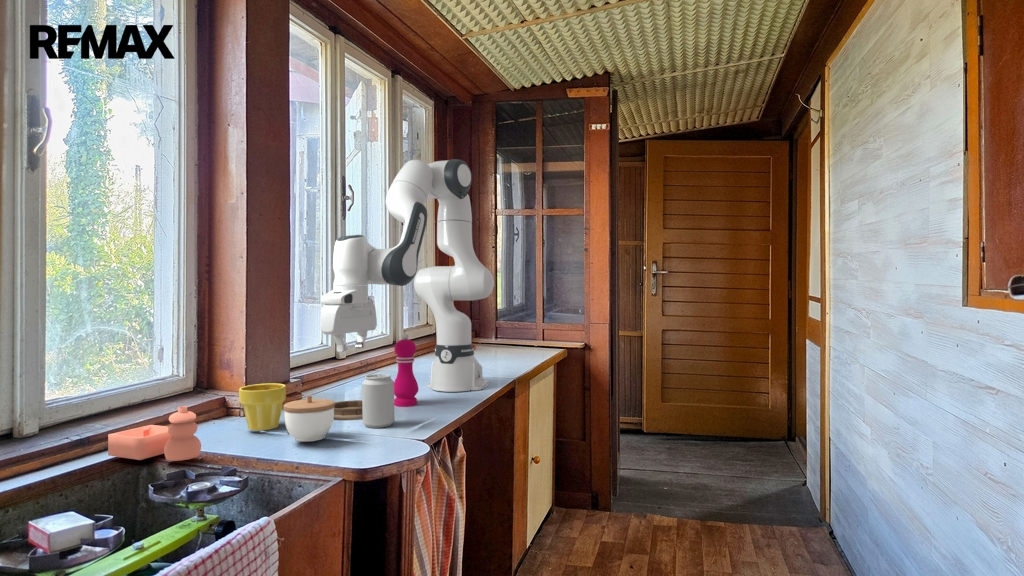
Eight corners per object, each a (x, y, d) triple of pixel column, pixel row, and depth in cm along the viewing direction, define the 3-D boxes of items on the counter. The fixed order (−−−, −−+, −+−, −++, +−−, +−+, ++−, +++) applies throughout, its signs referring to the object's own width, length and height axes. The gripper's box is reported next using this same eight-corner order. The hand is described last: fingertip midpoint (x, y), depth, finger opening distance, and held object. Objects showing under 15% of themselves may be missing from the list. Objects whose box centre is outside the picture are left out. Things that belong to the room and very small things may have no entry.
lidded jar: (283, 435, 142) (283, 393, 142) (332, 431, 146) (332, 390, 146) (284, 446, 132) (283, 401, 132) (337, 441, 136) (336, 398, 136)
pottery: (108, 455, 126) (108, 406, 126) (151, 444, 135) (150, 398, 135) (173, 464, 119) (173, 412, 119) (214, 452, 128) (213, 404, 128)
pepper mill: (416, 407, 174) (415, 334, 174) (389, 407, 174) (389, 334, 174) (420, 402, 181) (420, 332, 181) (395, 402, 181) (395, 332, 181)
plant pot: (236, 434, 143) (235, 391, 143) (242, 424, 153) (242, 384, 153) (284, 431, 146) (284, 388, 146) (287, 422, 156) (287, 382, 156)
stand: (344, 407, 173) (344, 398, 173) (388, 411, 169) (388, 401, 169) (311, 417, 160) (311, 408, 160) (359, 421, 156) (359, 411, 156)
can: (356, 427, 150) (355, 376, 150) (376, 420, 157) (375, 372, 157) (381, 429, 147) (380, 378, 146) (400, 423, 153) (400, 373, 153)
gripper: (362, 296, 175) (362, 346, 175) (316, 297, 156) (316, 353, 156) (382, 296, 173) (382, 346, 173) (338, 297, 154) (338, 354, 154)
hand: (350, 350), depth 164 cm, fingers open, 7 cm apart
